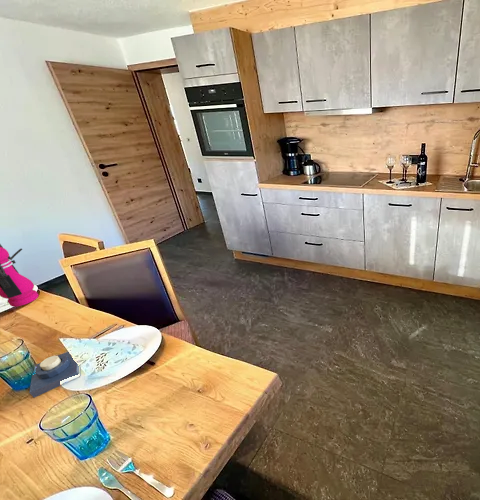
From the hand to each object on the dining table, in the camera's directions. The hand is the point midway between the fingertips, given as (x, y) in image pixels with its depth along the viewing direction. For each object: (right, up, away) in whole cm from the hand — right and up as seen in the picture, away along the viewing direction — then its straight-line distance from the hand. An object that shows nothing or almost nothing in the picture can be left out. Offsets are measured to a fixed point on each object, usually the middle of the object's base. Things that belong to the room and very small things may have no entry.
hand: (17, 289), depth 87 cm
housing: (+14, -25, -2) cm, 29 cm away
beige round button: (+14, -22, -3) cm, 26 cm away
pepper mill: (0, -4, +2) cm, 4 cm away
